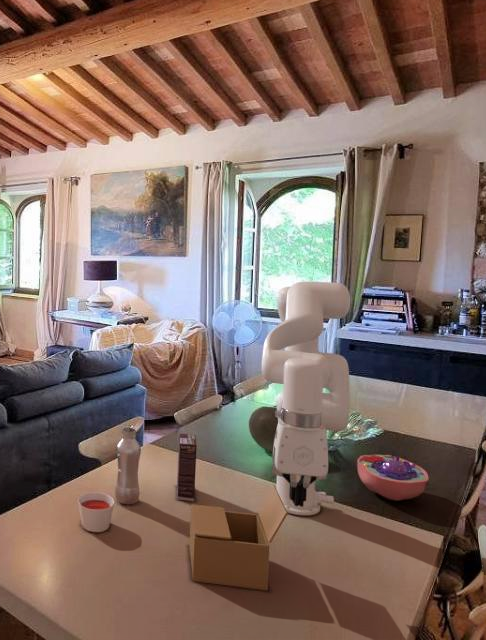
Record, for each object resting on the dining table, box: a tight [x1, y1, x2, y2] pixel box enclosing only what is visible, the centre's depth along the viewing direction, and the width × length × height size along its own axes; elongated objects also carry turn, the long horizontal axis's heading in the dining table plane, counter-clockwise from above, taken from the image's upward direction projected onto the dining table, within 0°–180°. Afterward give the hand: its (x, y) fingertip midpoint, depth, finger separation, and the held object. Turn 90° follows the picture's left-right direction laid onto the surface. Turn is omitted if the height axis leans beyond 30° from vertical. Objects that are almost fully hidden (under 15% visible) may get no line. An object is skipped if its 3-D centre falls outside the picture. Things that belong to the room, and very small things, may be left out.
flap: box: [257, 484, 289, 544], centre depth 112 cm, size 7×13×1 cm
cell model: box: [356, 453, 430, 502], centre depth 149 cm, size 17×20×11 cm
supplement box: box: [176, 433, 198, 502], centre depth 147 cm, size 9×5×16 cm, turn 168°
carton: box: [189, 503, 270, 591], centre depth 114 cm, size 15×13×10 cm
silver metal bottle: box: [114, 427, 142, 505], centre depth 142 cm, size 6×7×20 cm
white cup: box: [77, 491, 115, 533], centre depth 130 cm, size 9×9×6 cm
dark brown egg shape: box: [248, 406, 278, 453], centre depth 180 cm, size 14×14×15 cm
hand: (297, 503), depth 110 cm, fingers closed
